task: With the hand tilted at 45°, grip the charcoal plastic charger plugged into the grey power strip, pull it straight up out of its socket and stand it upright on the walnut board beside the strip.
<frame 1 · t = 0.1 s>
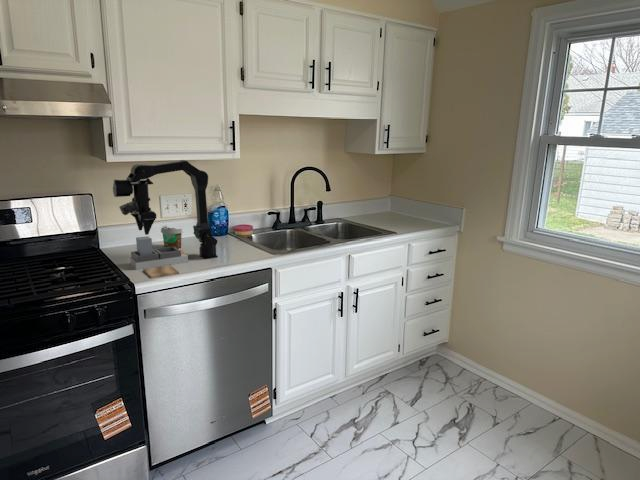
hand: (143, 232, 194), 15 cm above the counter, tool pointing down, fingers open, 9 cm apart
power strip: (159, 263, 202), on the counter
food container: (169, 248, 227), on the counter
charger: (145, 258, 198), point 3 cm above the counter, touching power strip
walnut board: (161, 272, 190), on the counter
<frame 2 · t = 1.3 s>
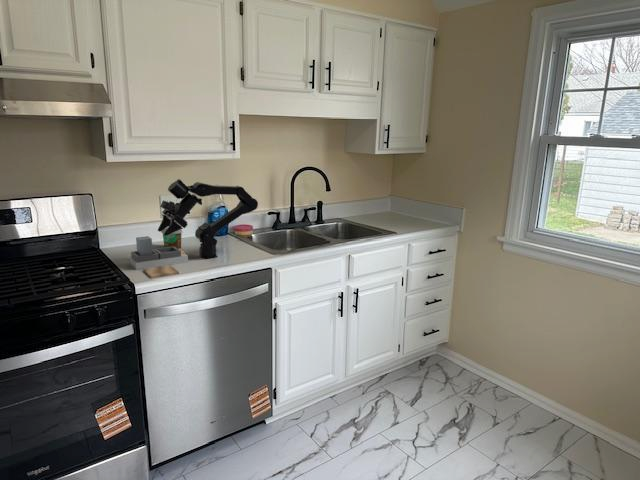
hand: (161, 233, 200), 13 cm above the counter, tool tilted 45°, fingers open, 9 cm apart
nothing on the counter moved.
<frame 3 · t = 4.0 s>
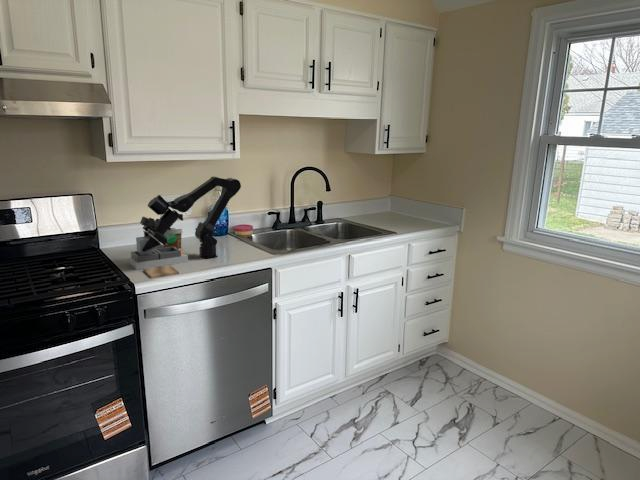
hand: (141, 249, 196), 7 cm above the counter, tool tilted 45°, fingers closed on charger, 5 cm apart
charger: (145, 258, 198), point 3 cm above the counter, touching gripper, power strip
everything else where it was.
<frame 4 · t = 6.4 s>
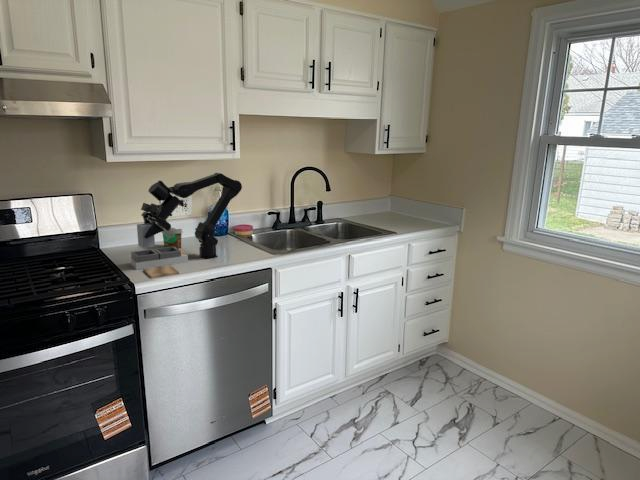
hand: (142, 236, 192), 13 cm above the counter, tool tilted 45°, fingers closed on charger, 5 cm apart
charger: (146, 245, 194), point 9 cm above the counter, touching gripper
everything else where it was.
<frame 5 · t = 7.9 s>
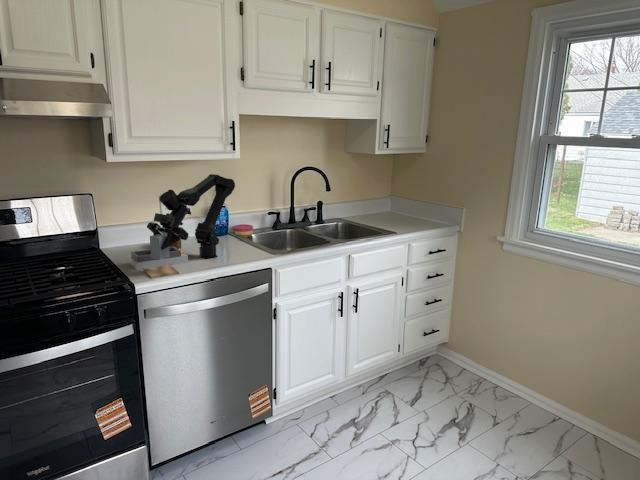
hand: (157, 248, 186), 10 cm above the counter, tool tilted 45°, fingers closed on charger, 5 cm apart
charger: (160, 257, 189), point 6 cm above the counter, touching gripper
everything else where it was.
when the fingers open (6 cm above the counter, at t = 9.1 s): charger drops 2 cm, resting on walnut board.
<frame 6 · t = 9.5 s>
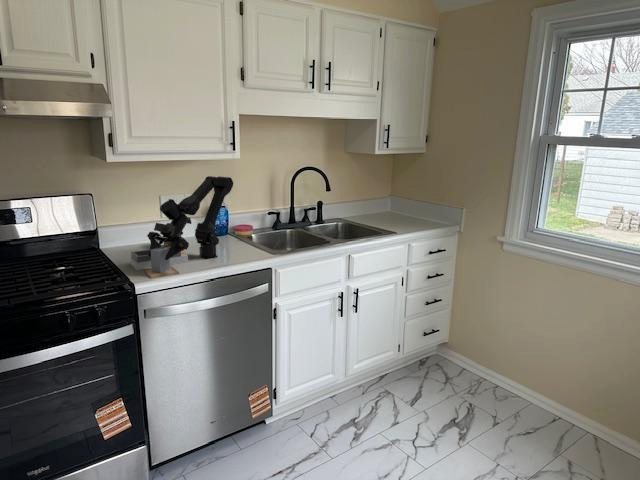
hand: (157, 257, 187), 7 cm above the counter, tool tilted 45°, fingers open, 9 cm apart
charger: (160, 270, 190), point 1 cm above the counter, touching walnut board
everything else where it was.
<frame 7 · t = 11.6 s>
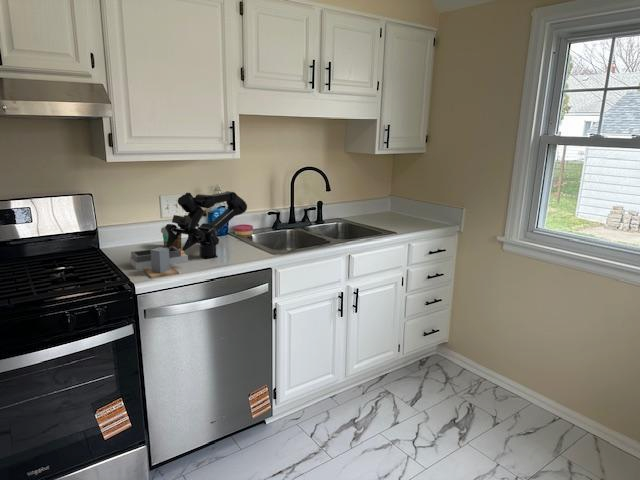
hand: (175, 248, 195), 8 cm above the counter, tool tilted 45°, fingers open, 9 cm apart
nothing on the counter moved.
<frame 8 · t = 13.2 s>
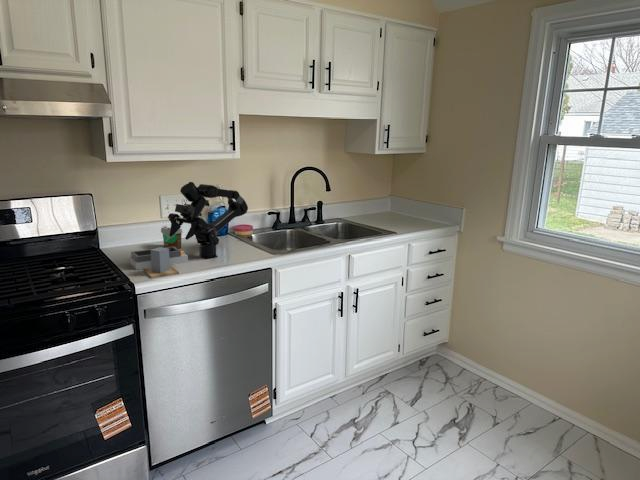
hand: (178, 237, 196), 13 cm above the counter, tool tilted 45°, fingers open, 9 cm apart
nothing on the counter moved.
at the end: charger inside the target area on the walnut board (0.0 cm from its centre), point 0.8 cm above the walnut board's base; charger tilted 0°; the gripper is holding nothing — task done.
